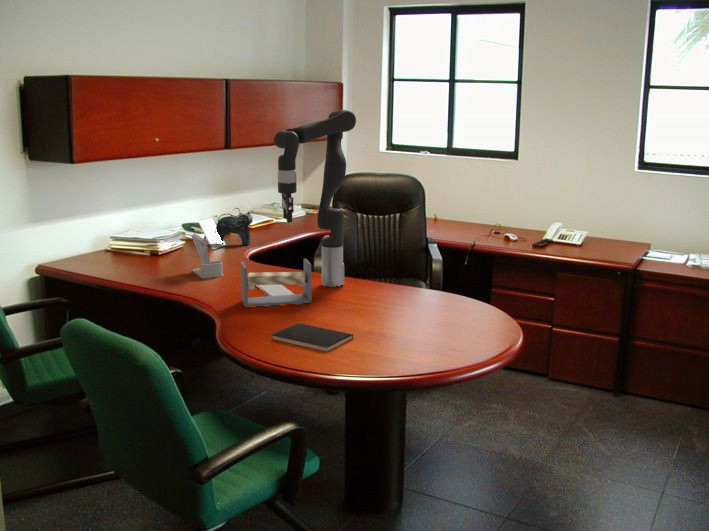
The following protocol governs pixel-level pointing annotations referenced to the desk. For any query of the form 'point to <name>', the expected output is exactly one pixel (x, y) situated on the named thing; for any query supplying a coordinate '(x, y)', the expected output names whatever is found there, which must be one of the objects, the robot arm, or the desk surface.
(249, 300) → the shelf frame
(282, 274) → the shelf board
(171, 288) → the desk surface
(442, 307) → the desk surface
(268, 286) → the baseboard
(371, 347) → the desk surface
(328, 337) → the hardcover book
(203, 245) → the phone holder
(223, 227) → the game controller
